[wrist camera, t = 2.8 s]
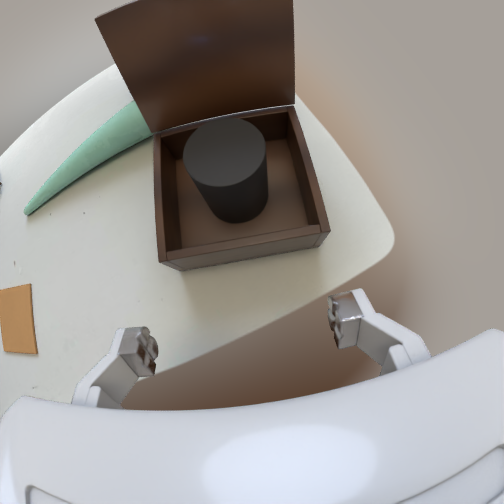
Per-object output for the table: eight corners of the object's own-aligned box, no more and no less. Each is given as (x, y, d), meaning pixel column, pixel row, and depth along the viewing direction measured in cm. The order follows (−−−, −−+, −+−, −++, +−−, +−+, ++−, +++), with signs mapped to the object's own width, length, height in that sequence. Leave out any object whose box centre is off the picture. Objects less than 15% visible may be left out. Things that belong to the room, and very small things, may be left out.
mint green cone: (4, 189, 27) (148, 81, 28) (26, 201, 33) (162, 106, 33) (4, 219, 26) (158, 104, 27) (28, 229, 31) (173, 130, 32)
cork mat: (38, 353, 27) (36, 353, 27) (5, 351, 28) (3, 351, 27) (31, 284, 30) (29, 283, 29) (0, 290, 30) (-2, 290, 30)
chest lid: (291, -28, 11) (288, -29, 11) (93, 19, 12) (97, 16, 12) (294, 104, 24) (292, 99, 24) (151, 133, 25) (152, 128, 25)
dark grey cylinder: (273, 217, 28) (273, 177, 19) (211, 229, 28) (185, 194, 19) (262, 163, 29) (257, 111, 20) (204, 174, 29) (180, 127, 21)
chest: (319, 246, 28) (330, 231, 22) (180, 271, 28) (158, 262, 23) (291, 136, 30) (293, 104, 25) (171, 159, 31) (153, 133, 25)
